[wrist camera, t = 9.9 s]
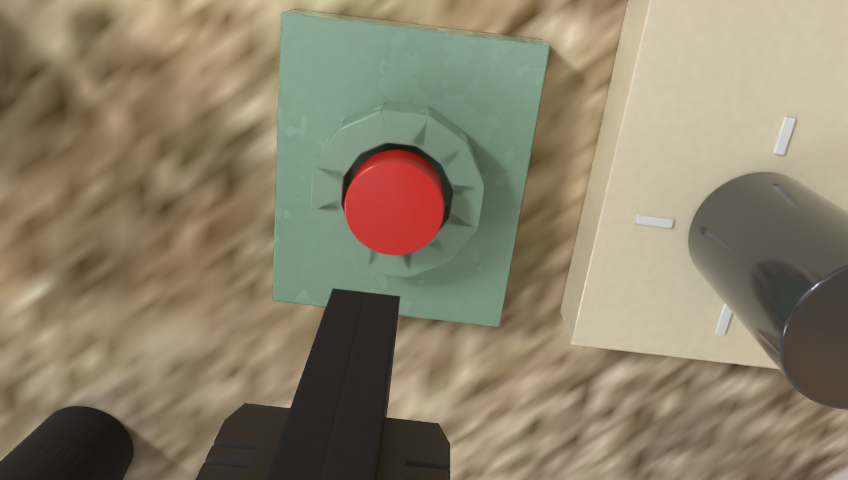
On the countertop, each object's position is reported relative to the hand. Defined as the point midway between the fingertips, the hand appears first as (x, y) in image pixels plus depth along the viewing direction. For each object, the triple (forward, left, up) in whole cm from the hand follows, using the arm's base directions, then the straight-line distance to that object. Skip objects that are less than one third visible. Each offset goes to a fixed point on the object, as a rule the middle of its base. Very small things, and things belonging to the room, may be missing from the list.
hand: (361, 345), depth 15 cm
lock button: (0, 0, -11) cm, 11 cm away
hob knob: (0, -14, -12) cm, 18 cm away
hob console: (+2, -14, -15) cm, 21 cm away
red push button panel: (0, 0, -15) cm, 15 cm away
